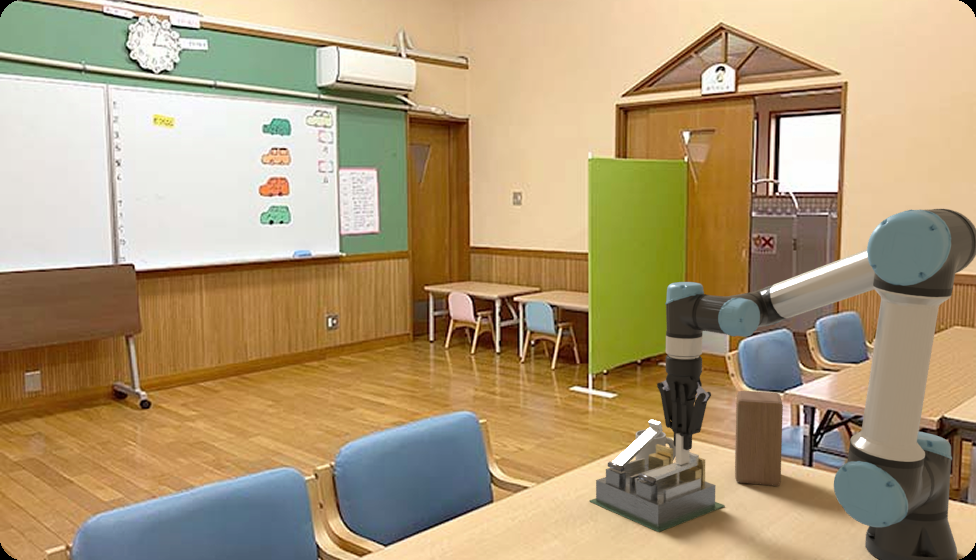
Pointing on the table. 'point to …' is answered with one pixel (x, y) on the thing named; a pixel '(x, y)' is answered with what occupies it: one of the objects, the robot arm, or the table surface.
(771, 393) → the wooden block
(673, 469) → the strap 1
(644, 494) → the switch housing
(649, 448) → the cup
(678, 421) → the robot arm
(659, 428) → the silver long flat bar
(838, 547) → the table surface
